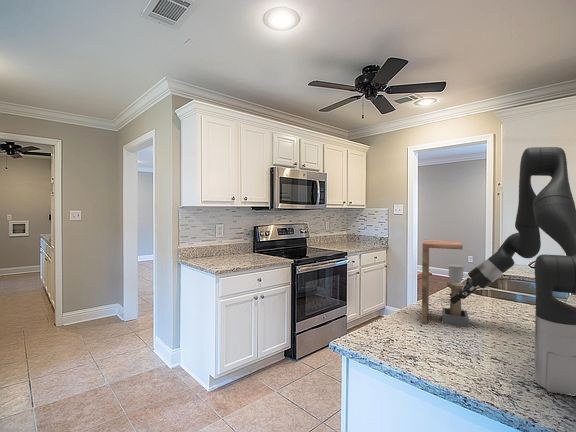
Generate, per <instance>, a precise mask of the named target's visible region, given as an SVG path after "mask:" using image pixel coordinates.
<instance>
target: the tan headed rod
mask: <svg viewBox="0 0 576 432" xmlns="http://www.w3.org/2000/svg"><path fill="white" fill-rule="evenodd" d="M463 285H464V284H461V282H460V283H454V282H451V281H449V282H447V283H446V286H447V287H448V289H450V293H451V296H450V299H451V298H452V297H453V296H455V295H456V294H457V293H458V292H459V291H460V288H461V287H462V286H463ZM457 295H458V294H457ZM449 308H450V315H455V316H461V310H462V299H461V300H459V301H458V302H457V303H455V304H453V303H452V302H451V301H450V300H449Z"/></svg>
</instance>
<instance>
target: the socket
mask: <svg viewBox="0 0 576 432" xmlns="http://www.w3.org/2000/svg"><path fill="white" fill-rule="evenodd" d="M441 309H442V312H441V314H442V315H441V324H442V325H443V324H444V325H450V326H457V327H465V328H469V320H470V319H469V318H470V317H469V313H468V309H467V310H465V309H461V316H455V315H450V307H441Z"/></svg>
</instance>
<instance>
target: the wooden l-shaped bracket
mask: <svg viewBox="0 0 576 432" xmlns="http://www.w3.org/2000/svg"><path fill="white" fill-rule="evenodd" d="M430 249H442V250H443V249H445V250H446V249H448V250H460V251H461V250H463V243H462V241H461V240H452V239H451V240H450V239H449V240H446V239H424V241H422V253H421V254H422V255H421V256H422V260H421V261H422V262H421V264H422V265H421V267H422V268H421V269H422V271H421V273H422V275H421V277H422V282H421V288H422V289H421V292H422V293H421V324H422V325H427V324H428V323H427V322H428V317H429V316H428V315H429V309H430V307H429V302H430V301H429V299H430V298H429V297H430V295H429V294H430V293H429V289H430V288H429V287H430Z"/></svg>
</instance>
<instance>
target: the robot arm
mask: <svg viewBox="0 0 576 432" xmlns="http://www.w3.org/2000/svg"><path fill="white" fill-rule="evenodd" d="M568 172H569V171H568V161H567V155H566V152H565V150H564V149H563V148H562V147H558V146H541V147H540V146H539V147H538V146H537V147H527V148H525V150H523V152H522V155H521V158H520V165H519V179H518V203H517V204H518V206H517V210H516V216H515V223H514V227H515V229H516V231H518V232H515V233H512V234H511V235H509V236H508V237H506V239H505V240H504V242H503V243H501V245H500V247H499V248H498V249H497V251H496V252H495V253H493V254H492V255H491V256H490V257H488V258H487V259H486V260H483V261H482V262H481V263H479V264H478V265H477V266H476V267H474V268H472V269H471V270H470V271H469V272H468V273H467V275H468V276H469V277H467V278H466V279H465V280H462V281H461V282H460V284H464V285H463V286H462V287H461V288H460V291H459V292H458V293H457V294H458V295H457V294H456V295H455V296H453V297H452V298H451V292H450V293H449V296H450V299H449V302H450V301H451V302H452V303H453V304H455V303H457V302H458V301H459V300H461V301H462V300H465V299H466V298H468V297H469V296H470V295H471V294H473V293H474V292H475V291H477V287H480V288H481V289H485V288H486V287H488V286H489V285H491V284H492V283H493V282H495V281H496V280H498V279H499V278H500V277H501V276H502V275H503V274H504V273H505V272H507V271H509V270H510V269H511V268H512V267H514V266H515V260H514V259H513V257H514V255H515V253H516V254H517V255H518V256H520V257H522V258H524V259H532V258H535V257H536V256H537V255H538V254H539V253H540V250H541V248H542V247H541V246H542V242H541V231H540V230H542V231H543V232H544V233H545V234H546V235H547V236H549V237H550V238H551V239H552V240H553V241H555V242H556V243H557V244H558V245H559V246H560V247H561V249H562V251H564V253H565V254H566V255H563V254H539V255H538V256H537V257H536V259H535V262H534V282H535V283H534V285H535V316H534V317H535V318H534V319H535V323H534V381H535V383H536V384H538V385H539V386H540V387H541V388H544V389H545V390H546V391H547V392H548V393H554V394H557V393H560V394H559V395H562V394H571V395H575V396H576V306H573V305H570V304H568V303H566V302H564V301H561V300H560V299H558V298H556V297H554V294H553V292H555V293H565V294H573V295H574V294H575V295H576V203H575V201H574V197H573V194H572V190H571V186H570V180H569V173H568ZM532 176H534V177H535V176H537V177H539V176H543V177H544V176H545V177H550V178H551V179H550V181H549V182H548V183H547V184H546V186H544V187H543V188H542V189H541V190H540V191H539V193H537V194H536V193H535V191H534V189H533V186H532V182H531V181H532Z"/></svg>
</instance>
